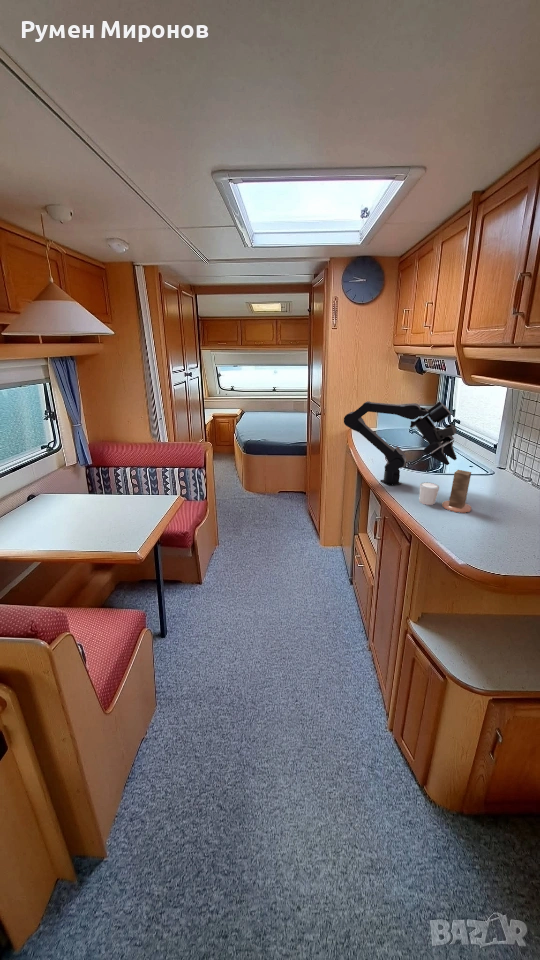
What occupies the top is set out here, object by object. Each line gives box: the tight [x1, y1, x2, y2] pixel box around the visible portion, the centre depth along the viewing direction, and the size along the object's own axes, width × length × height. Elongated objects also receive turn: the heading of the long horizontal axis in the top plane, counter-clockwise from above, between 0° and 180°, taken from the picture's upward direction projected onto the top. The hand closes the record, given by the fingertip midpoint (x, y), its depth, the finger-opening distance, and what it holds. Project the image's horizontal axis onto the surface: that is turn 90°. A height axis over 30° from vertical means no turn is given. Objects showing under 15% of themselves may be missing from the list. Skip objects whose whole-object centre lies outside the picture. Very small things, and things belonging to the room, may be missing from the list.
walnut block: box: [448, 469, 472, 509], centre depth 146 cm, size 4×4×13 cm
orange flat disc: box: [441, 499, 472, 514], centre depth 148 cm, size 10×10×1 cm
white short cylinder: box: [418, 481, 440, 506], centre depth 152 cm, size 7×7×7 cm
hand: (452, 462), depth 157 cm, fingers open, 9 cm apart
